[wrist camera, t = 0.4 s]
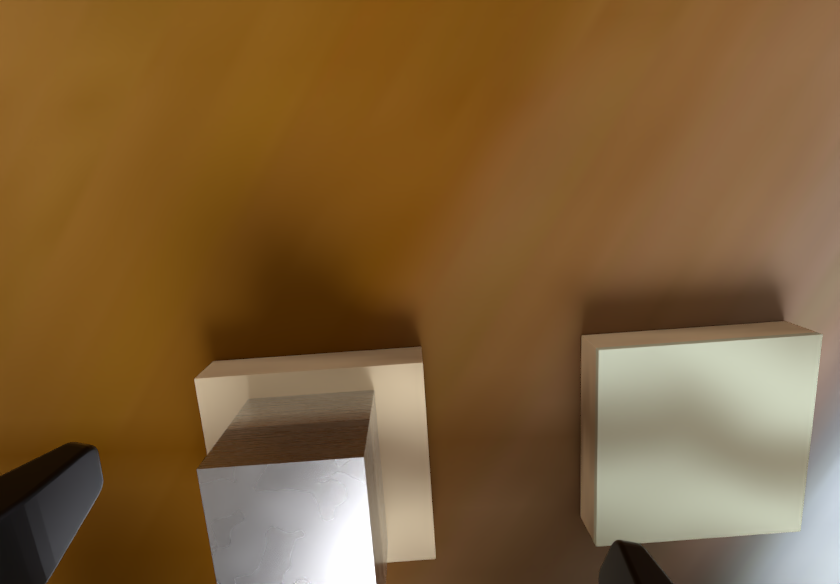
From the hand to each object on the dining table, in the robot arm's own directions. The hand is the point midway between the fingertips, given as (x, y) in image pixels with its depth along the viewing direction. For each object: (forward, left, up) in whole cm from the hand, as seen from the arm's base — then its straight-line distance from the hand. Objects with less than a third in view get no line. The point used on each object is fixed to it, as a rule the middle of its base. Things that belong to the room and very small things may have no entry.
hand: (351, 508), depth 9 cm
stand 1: (-6, +3, -13) cm, 15 cm away
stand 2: (-6, -13, -13) cm, 19 cm away
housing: (-6, +3, -11) cm, 13 cm away
